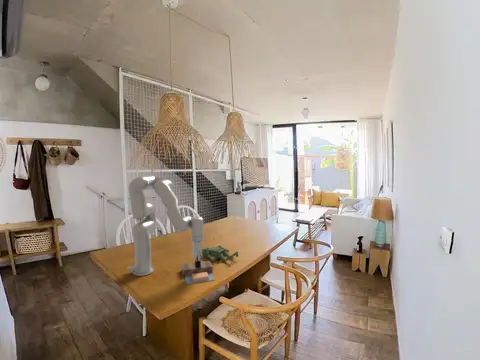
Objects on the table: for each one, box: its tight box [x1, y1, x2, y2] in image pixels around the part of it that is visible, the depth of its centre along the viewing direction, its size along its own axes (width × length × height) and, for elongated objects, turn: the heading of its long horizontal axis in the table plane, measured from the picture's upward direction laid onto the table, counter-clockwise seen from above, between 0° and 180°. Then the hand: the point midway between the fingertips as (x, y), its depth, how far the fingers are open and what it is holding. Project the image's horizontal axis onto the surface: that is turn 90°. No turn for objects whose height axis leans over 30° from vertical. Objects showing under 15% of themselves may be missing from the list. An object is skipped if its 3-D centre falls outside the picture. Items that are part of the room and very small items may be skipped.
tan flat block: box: [192, 272, 209, 282], centre depth 150 cm, size 9×6×2 cm, turn 108°
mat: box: [184, 273, 215, 285], centre depth 150 cm, size 16×10×1 cm, turn 107°
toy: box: [202, 245, 239, 263], centre depth 182 cm, size 21×8×30 cm
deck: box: [181, 260, 214, 278], centre depth 160 cm, size 18×10×4 cm, turn 107°
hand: (197, 267), depth 155 cm, fingers closed
